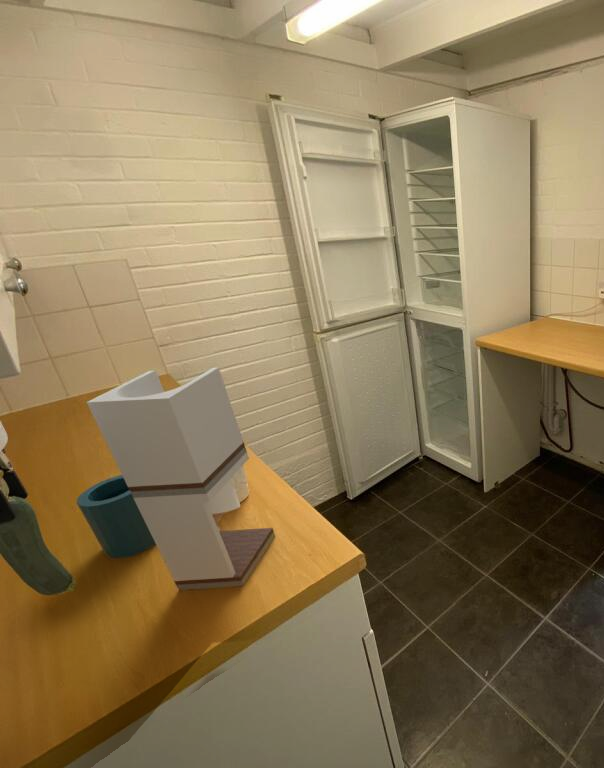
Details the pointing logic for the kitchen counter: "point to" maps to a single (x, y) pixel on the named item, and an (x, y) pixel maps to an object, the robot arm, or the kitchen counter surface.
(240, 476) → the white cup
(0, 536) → the vegetable
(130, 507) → the jar
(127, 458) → the white coffee maker
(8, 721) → the kitchen counter surface
